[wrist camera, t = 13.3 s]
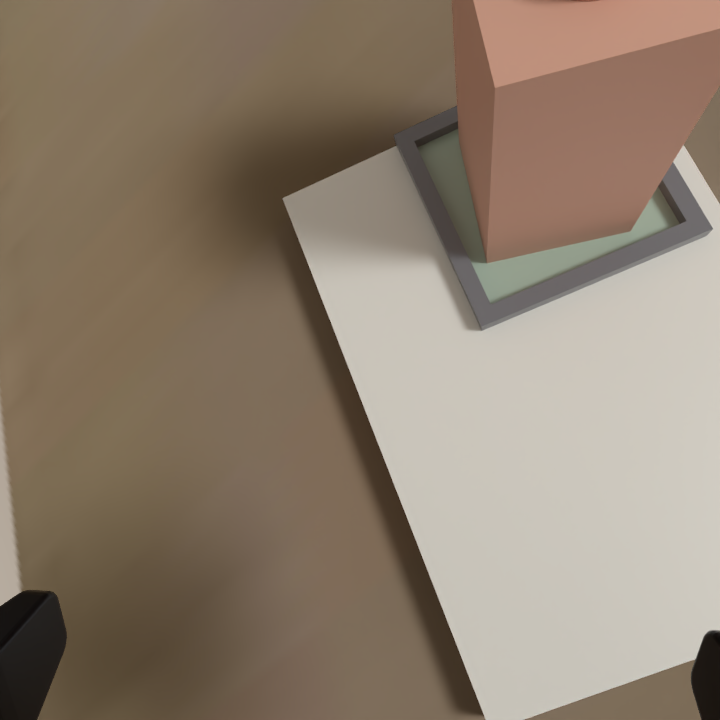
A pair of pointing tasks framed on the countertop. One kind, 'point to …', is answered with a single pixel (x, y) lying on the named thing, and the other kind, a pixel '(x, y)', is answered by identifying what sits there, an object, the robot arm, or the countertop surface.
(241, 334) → the countertop surface
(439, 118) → the build board
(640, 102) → the pillar
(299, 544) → the countertop surface
